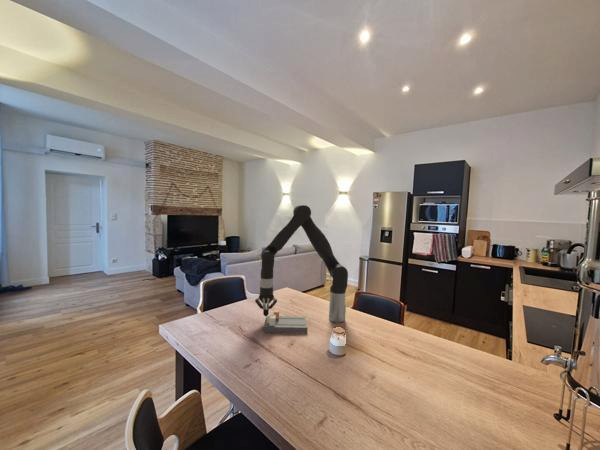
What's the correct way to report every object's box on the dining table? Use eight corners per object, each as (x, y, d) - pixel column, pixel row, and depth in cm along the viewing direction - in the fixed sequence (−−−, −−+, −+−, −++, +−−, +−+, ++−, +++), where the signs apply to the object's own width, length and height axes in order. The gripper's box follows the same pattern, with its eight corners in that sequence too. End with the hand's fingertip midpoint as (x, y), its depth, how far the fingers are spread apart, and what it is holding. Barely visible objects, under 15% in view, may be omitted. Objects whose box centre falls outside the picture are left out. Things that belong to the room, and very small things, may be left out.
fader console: (305, 321, 146) (305, 316, 146) (307, 333, 132) (307, 327, 132) (265, 320, 145) (266, 315, 145) (263, 332, 131) (263, 326, 131)
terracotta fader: (279, 316, 144) (279, 309, 144) (278, 319, 140) (279, 312, 140) (273, 315, 144) (274, 309, 144) (273, 319, 140) (273, 312, 140)
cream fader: (275, 322, 136) (275, 314, 136) (275, 325, 132) (275, 318, 132) (269, 321, 136) (270, 314, 136) (269, 325, 132) (269, 318, 132)
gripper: (278, 283, 145) (277, 313, 146) (255, 283, 144) (255, 312, 145) (278, 287, 137) (277, 318, 138) (254, 287, 137) (253, 318, 138)
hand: (265, 315), depth 142 cm, fingers closed
